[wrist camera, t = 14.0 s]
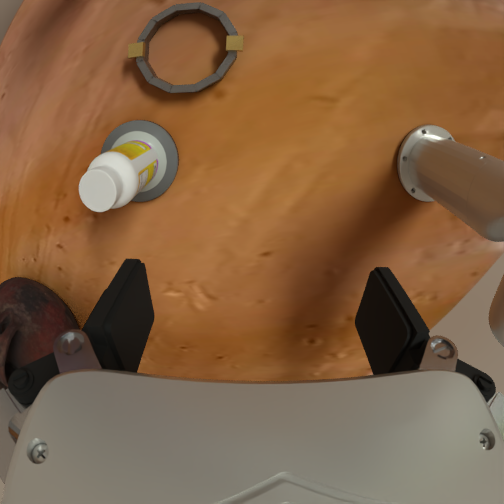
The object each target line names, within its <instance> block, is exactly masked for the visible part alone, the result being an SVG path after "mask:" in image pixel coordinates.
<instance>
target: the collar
mask: <svg viewBox="0 0 504 504" xmlns="http://www.w3.org/2000/svg"><path fill="white" fill-rule="evenodd" d="M190 13H203V14H205V15H207V16H210V17H212V18H214V19H216V20H219V21H220V22H221V24H222V25H223V27H224V28H225V30H226V32H227V33H228V35H229V36H227V40H226V51H228V55H227V57H226V58H225V59H224V61H223V62H222V64H221V65H220V67H219V68H218V70H217V71H216V73H214V74H212V75H211V76H209V77H207V78H205V79H203V80H201V81H200V82H198V83H196V84H191V85H172V84H170V83H168V82H166V81H164V80H162V79H160V78H158V77H157V75H156V74H155V72H154V70H153V69H152V67H151V65H150V64H149V62H148V55H149V42H150V41H151V39H152V38H153V36H154V34H155V33H156V31H157V30H158V28H159V27H160V26H161V25H162V24H164V23H165V22H167V21H169V20H171V19H172V18H174V17H176V16H178V15H179V14H190ZM138 39H139V40H137V43H133V44H129V50H128V58H130V59H132V58H136V62H137V65H138V67H139V68H140V70H141V72H142V73H143V75H144V77H145V79H146V80H147V82H148V83H150V84H152V85H154V86H156V87H159V88H161V89H163V90H165V91H167V92H169V93H187V92H200V91H202V90H204V89H205V88H207V87H209V86H211V85H213V84H215V83H217V82H218V81H220V80H221V78H222V79H223V78H224V76H225V75H226V73H227V72H228V70H229V69H230V67H231V66H232V65H233V63H234V62H235V60H236V58H237V51H243V39H244V37H243V36H238V34H237V31H236V29H235V28H234V26H233V25H232V23H231V22H230V20H229V18H228V17H227V15H226V14H225V13H224V12H223V11H220V10H218V9H216V8H214V7H211V6H209V5H207V4H204V3H201V2H200V3H186V4H176V5H173V6H171V7H170V8H168V9H166V10H164V11H163V12H161V13H159V14H158V15H156V16H154V17H153V18H152V19H151V20H150V21H149V23H148V24H147V26H146V27H145V29H144V30H143V32H142V33H141V35H140V36H139V38H138Z"/></svg>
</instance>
